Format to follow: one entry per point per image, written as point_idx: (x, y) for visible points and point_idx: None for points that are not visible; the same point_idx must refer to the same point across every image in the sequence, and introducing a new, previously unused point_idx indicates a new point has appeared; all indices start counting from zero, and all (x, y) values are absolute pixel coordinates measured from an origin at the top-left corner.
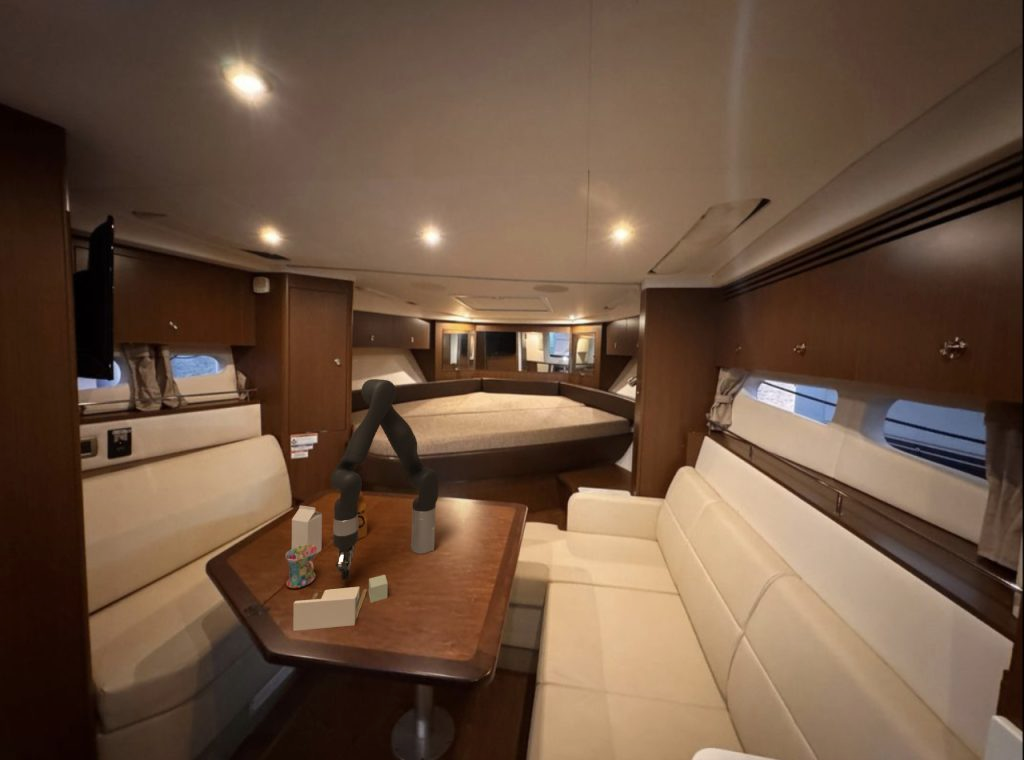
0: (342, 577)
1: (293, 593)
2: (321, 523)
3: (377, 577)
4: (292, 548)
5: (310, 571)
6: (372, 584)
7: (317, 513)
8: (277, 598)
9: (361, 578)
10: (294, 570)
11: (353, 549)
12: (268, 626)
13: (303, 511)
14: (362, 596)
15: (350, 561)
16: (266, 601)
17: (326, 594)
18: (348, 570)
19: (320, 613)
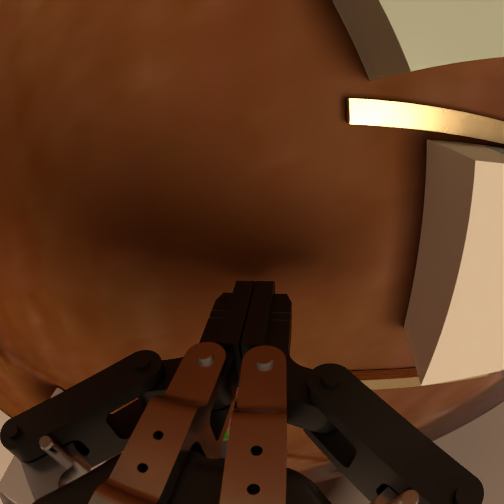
0: (290, 335)
1: (296, 430)
2: (12, 463)
3: None
4: (105, 461)
5: (221, 451)
6: (500, 35)
7: (7, 499)
8: (314, 449)
9: (183, 184)
10: None
11: (54, 414)
12: (446, 423)
13: None
14: (434, 119)
15: (190, 381)
16: (322, 459)
17: (467, 365)
18: (264, 336)
19: None
